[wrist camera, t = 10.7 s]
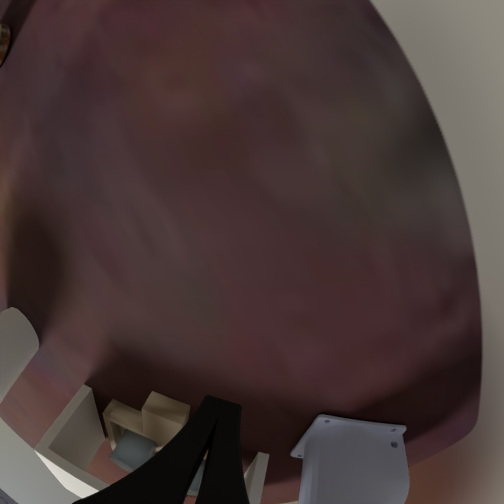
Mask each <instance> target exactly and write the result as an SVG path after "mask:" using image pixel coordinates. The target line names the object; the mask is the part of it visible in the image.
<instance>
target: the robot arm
mask: <svg viewBox="0 0 504 504" xmlns="http://www.w3.org/2000/svg"><path fill="white" fill-rule="evenodd" d="M241 410H242V407H241V405H239V404H236V403H232V402H229V401H226V400H222V399H219V398H216V397H213V396H210V395H207V396H205V397H204V399H203V401H202V403H201V404H200V406H199V407H198V409H197V410H196V412H195V413H194V414H193V415H192V417H191V418H190V419H189V421H188V422H187V423H186V424H185V425H184V426H183V427H182V429H181V430H180V431H179V432H178V433H177V434H176V435H175V436H174V437H173V438H172V439H171V440H170V441H169V442H168V443H167V444H166V445H165V446H164V447H163V448H162V449H161V450H160V451H159V452H157V453H156V454H155V455H154V456H153V457H151V458H150V459H149V460H148V461H146V462H145V463H144V464H143V465H141V466H140V467H138V468H137V469H136V470H134V471H133V472H131V473H130V474H128V475H127V476H125V477H124V478H122V479H120V480H119V481H117V482H115V483H113V484H112V485H110V486H108V487H106V488H104V489H102V490H100V491H98V492H96V493H94V494H92V495H90V496H87V497H85V498H82V499H80V500H78V501H75V502H74V503H72V504H183V503H184V500H185V497H186V495H187V493H188V490H189V488H190V486H191V484H192V482H193V480H194V478H195V476H196V474H197V472H198V470H199V467H200V465H201V463H202V461H203V459H204V457H205V455H206V453H207V450H208V453H207V457H206V461H205V466H204V470H203V474H202V479H201V483H200V487H199V492H198V495H197V499H196V502H195V504H250V502H249V498H248V494H247V490H246V485H245V480H244V474H243V467H242V459H241V447H240V418H241ZM405 431H406V426H404V425H395V424H385V423H376V422H368V421H361V420H354V419H347V418H341V417H335V416H330V415H324V414H322V415H318V416H317V417H316V419H315V420H314V422H313V423H312V424H311V426H310V427H309V429H308V430H307V431H306V433H305V434H304V435H303V437H302V438H301V439H300V441H299V442H298V443H297V445H296V446H295V447H294V448H293V450H292V451H291V454H290V455H291V456H292V457H297V458H303V465H302V475H301V485H300V493H299V502H298V504H404V502H405V500H406V498H407V495H408V491H409V482H410V481H409V473H408V465H407V459H406V453H405V447H404V441H403V436H402V434H403V433H404V432H405ZM0 504H18V503H17V502H15V501H14V500H13V499H12V498H10V497H9V496H8V495H7V494H6V493H5V492H4V491H3V490H1V489H0Z"/></svg>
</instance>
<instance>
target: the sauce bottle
mask: <svg viewBox="0 0 504 504" xmlns="http://www.w3.org/2000/svg"><path fill="white" fill-rule="evenodd" d="M10 36H11V35H10V28H9V26H8V25H6V24H1V23H0V65H1V64H2V62H3V60H4V58H5V55H6V53H7V50H8V47H9V44H10V40H11V38H10Z"/></svg>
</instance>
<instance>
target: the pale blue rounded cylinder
mask: <svg viewBox="0 0 504 504" xmlns="http://www.w3.org/2000/svg"><path fill="white" fill-rule="evenodd" d="M205 461H206V460H205V459H203V461H202V463H201V465H200V467H199V470H198V472H197V474H196V476H195V478H194V480H193V482H192V484H191V486H190V488H189V490H188V493H187V495H192V496H197V495H198V492H199V487H200V483H201V479H202V474H203V470H204V466H205Z"/></svg>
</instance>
